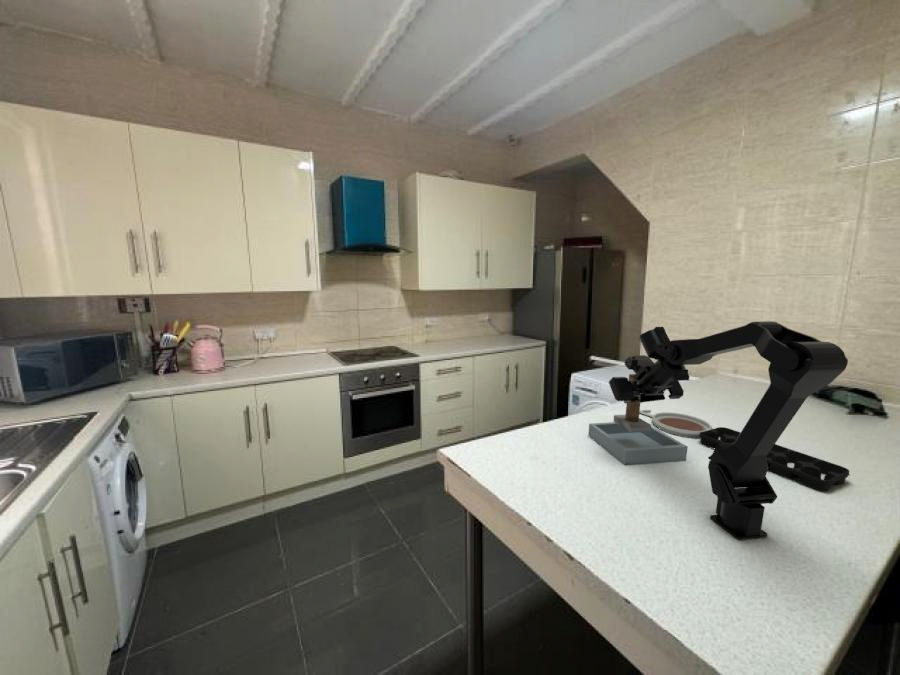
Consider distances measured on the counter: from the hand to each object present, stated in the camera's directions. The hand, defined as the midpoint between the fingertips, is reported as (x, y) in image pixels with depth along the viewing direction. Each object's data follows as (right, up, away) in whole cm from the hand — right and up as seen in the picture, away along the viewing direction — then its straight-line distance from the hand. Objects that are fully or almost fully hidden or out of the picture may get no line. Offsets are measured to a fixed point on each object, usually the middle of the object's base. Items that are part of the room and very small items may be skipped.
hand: (630, 401), depth 102 cm
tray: (+1, -13, +1) cm, 13 cm away
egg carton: (+33, -15, -6) cm, 37 cm away
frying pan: (+22, -11, +20) cm, 32 cm away
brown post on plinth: (0, -7, 0) cm, 7 cm away
